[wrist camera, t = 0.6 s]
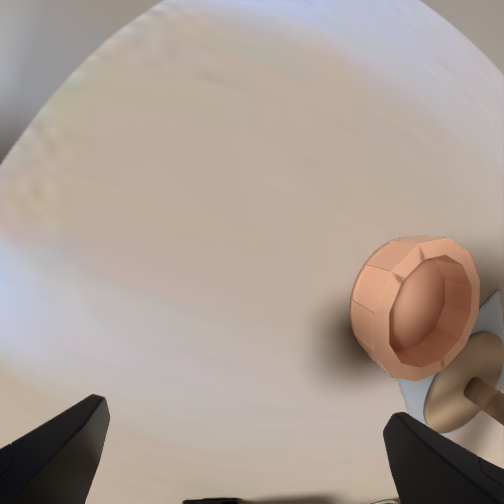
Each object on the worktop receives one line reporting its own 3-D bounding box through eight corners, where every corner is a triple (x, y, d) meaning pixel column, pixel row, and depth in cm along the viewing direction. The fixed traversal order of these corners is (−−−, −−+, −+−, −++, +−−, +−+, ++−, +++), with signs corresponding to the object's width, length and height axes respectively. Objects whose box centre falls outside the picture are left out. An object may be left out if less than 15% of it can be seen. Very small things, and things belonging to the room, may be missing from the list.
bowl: (446, 339, 23) (473, 354, 19) (351, 372, 23) (372, 398, 18) (446, 230, 22) (478, 231, 18) (343, 247, 22) (369, 252, 17)
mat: (503, 381, 25) (505, 382, 25) (420, 455, 25) (421, 457, 24) (497, 289, 24) (499, 290, 23) (397, 377, 23) (398, 379, 23)
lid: (487, 403, 25) (536, 438, 14) (415, 444, 24) (462, 499, 13) (504, 316, 24) (571, 341, 13) (430, 352, 23) (507, 402, 12)
